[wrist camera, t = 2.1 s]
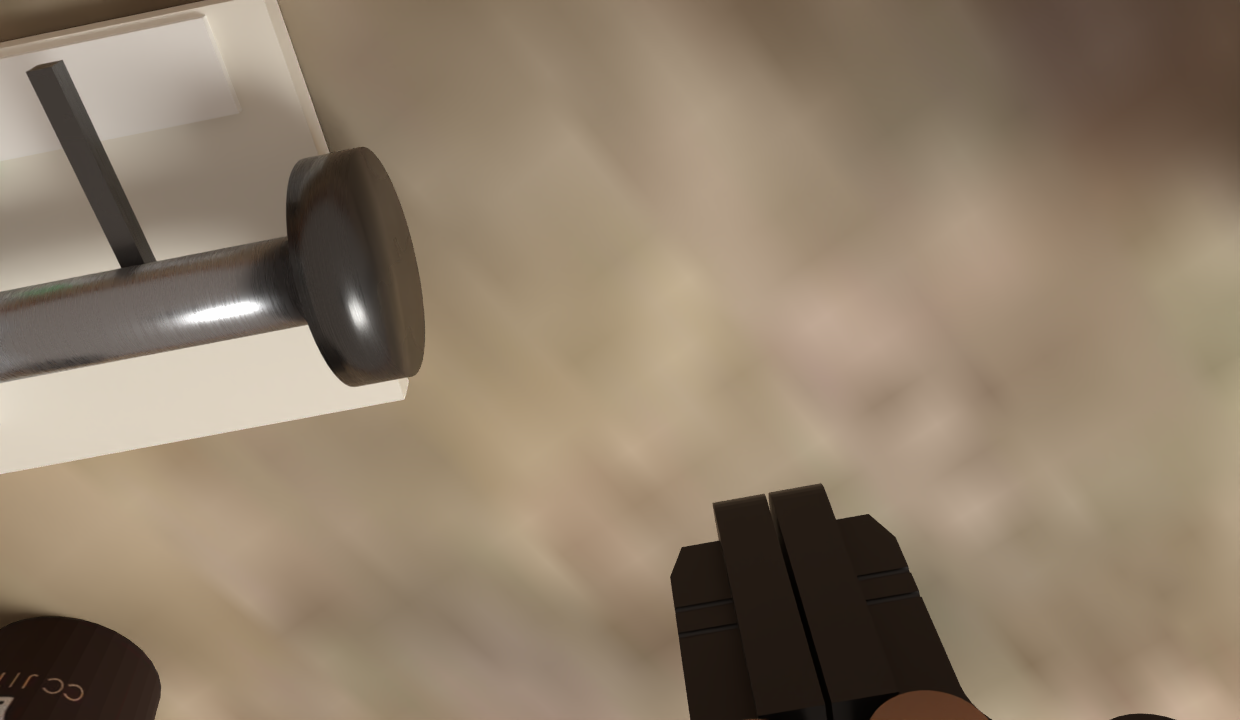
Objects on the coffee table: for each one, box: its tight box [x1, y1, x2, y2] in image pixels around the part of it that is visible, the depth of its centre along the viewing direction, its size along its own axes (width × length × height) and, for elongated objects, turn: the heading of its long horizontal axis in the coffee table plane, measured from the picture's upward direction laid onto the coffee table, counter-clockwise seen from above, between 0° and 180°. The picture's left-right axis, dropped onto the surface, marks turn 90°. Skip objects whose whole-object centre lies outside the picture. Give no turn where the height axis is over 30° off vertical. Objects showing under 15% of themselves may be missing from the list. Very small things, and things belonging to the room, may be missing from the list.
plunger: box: [0, 60, 425, 387], centre depth 24 cm, size 14×9×6 cm, turn 100°
